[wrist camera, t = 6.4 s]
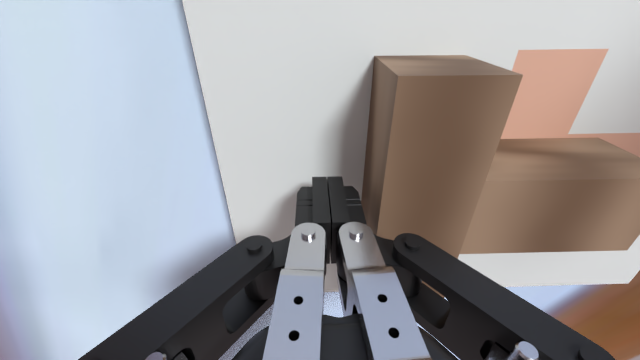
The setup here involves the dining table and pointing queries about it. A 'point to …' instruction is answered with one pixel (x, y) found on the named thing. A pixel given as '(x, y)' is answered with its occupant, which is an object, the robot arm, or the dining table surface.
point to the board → (355, 92)
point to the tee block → (486, 167)
